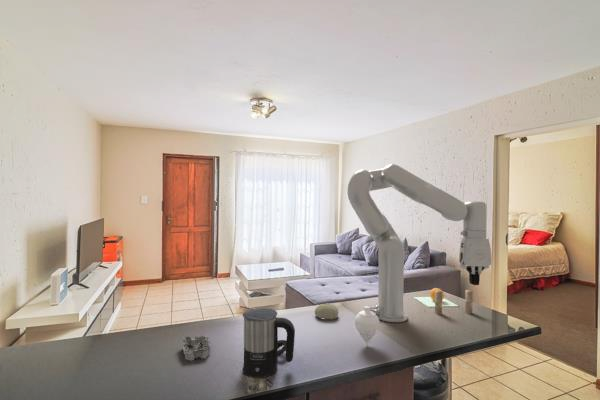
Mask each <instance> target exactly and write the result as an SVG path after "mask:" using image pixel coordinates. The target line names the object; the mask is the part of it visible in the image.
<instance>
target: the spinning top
mask: <svg viewBox="0 0 600 400" xmlns="http://www.w3.org/2000/svg"><path fill="white" fill-rule="evenodd" d="M369 306H370V305H368V306H367V305H366V306H364V307H363V309H364V310H361V311H359V312H358V313H357V314H356V316H355V318H354V326H355V328H356V330H357V332H358V334H359V335H360V337H361V338H362V339H363V341H364V342H365V344H366V346H368V343H369V342H370V341H371V340H373V338H374V336H375V335H376V333H377V332H378V330H379V328H380V325H381V324H380V321H381V320H380V319H379V318H378V317H377V315H376V314H375V313H374V312H371V311H370V307H369Z"/></svg>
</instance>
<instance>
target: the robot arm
mask: <svg viewBox="0 0 600 400" xmlns="http://www.w3.org/2000/svg"><path fill="white" fill-rule="evenodd" d="M387 188H388V189H389V188H393V189H394V190H395V191H397V192H399V193H400V194H402V195H404V196H406V197H407V198H408V199H411V200H412V201H414V202H415V203H419V204H421V205H425V206H427V207H428V208H431V209H432V210H434V211H436V212H438V213H439V214H441V217H443V218H444V219H445V220H448V221H452V222H461V221H463V223H462V224H463V226H462V227H463V230H462V231H460V235H461V236H462V237H461V241H460V244H459V254H458V256H459V257H458V258H459V263H460V264H459V268H461V269H463V270H466V272H467V273H469V277H468V278H469V279H468V281H469V284H471V285H473V286H479V285H480V281H481V280H480V275H481V274H482V272H483V271H484V270H487V269H489V268H490V266H491V265H492V249H491V243H490V240H489V238H487V221H488V220H487V215H488V214H487V212H488V211H487V210H488V209H487V208H488V207H487V203H486V202H485V201H478V200H477V201H475V200H473V201H465V202H464V201H462V200H460V199H458V198H456V197H455V196H453V195H452V194H450V193H448V192H447V191H444V190H442V189H441V188H439V187H436V186H435V185H433V184H431V183H429V182H428V181H426V180H424V179H422V178H420V177H419V176H417V175H415V174H413V173H412V172H410V171H409V170H407V169H405V168H403V167H401V166H400V165H397V164H394V163H390V164H387V165H386V166H385V167H384V168H380V169H374V170H366V169H359V170H357V171H355V172H354V173H353V174H352V176H351V177H350V180H349V182H348V184H347V197H348V200H349V204H350V205H351V207H352V208H353V211H354V212H355V214H356V216H357V218H359V220H360V222H361V223H362V225H363V228H364V230H365V232H366V233H367V234H368V235H370V237H371V238H372V240H373V241H374V243H375V244H376V246H377V247H378V267H377V268H378V271H377V272H378V273H377V274H378V275H377V277H378V282H377V283H378V284H377V285H378V286H377V287H378V288H377V289H378V290H377V291H378V294H377V295H378V297H377V299H378V300H377V302H378V303H375V305H373V306H370V305H368V306H369V307H370V311H371V312H374V313H375V314H376V315H377V317H378V318H379V321H383V322H387V323H403V322H406V321H407V320H408V314H407V313H406V312H404V284H405V283H404V281H405V279H404V278H405V276H404V275H405V273H404V272H405V271H404V270H405V269H404V265H405V246H404V243H403V241H402V239H401V238H400V237H399V235H398V234H397V232H396V231H395V229H394V228H393V226H392V225H391V223H390V221H389V219H388V218H387V217H386V215H384V214H383V213H382V212H381V210H380V209H379V208H378V206H377V204H376V202H375V201H374V199H373V198H372V196H371V194H370V192H372V191H376V190H383V189H387Z"/></svg>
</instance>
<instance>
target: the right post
mask: <svg viewBox="0 0 600 400" xmlns="http://www.w3.org/2000/svg"><path fill="white" fill-rule="evenodd" d="M473 294H474V292H473V290H471V289H465V293H464V295H465V301H464V302H465V304H464V305H465V307H464V309H465V311H464V312H465V313H466V314H469V315H470V314H471V315H472V314H473V305H474V304H473V301H474V300H473V299H474V298H473Z"/></svg>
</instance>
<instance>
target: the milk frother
mask: <svg viewBox="0 0 600 400" xmlns="http://www.w3.org/2000/svg"><path fill="white" fill-rule="evenodd" d="M241 315H242V317H243V366H242V372H243V374H244V375H245V376H247V377H250V378H255V379H256V378H257V379H258V378H260V379H261V378H265V377H266V378H267V377H270V376H272V375H273V374H275V373H276V372H277V371H278V358H279V357H280V356H281V355H283V354H284V353H285V361H286V362H287V363H291V362H292V361H293V358H294V351H295V350H294V348H295V339H296V338H295V336H296V335H295V334H296V333H295V332H296V329H295V326H294V324H293V322H292V321H291V320H289V319H288V318H286V317H277V315H278V312H277V311H276V310H275V309H271V308H262V307H260V308H253V309H249V310H246V311H245V312H243V313H242V314H241ZM280 328H282V329H284V330H285V331H286V340H285V339H279V337H278V335H279V334H278V329H280Z"/></svg>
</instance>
